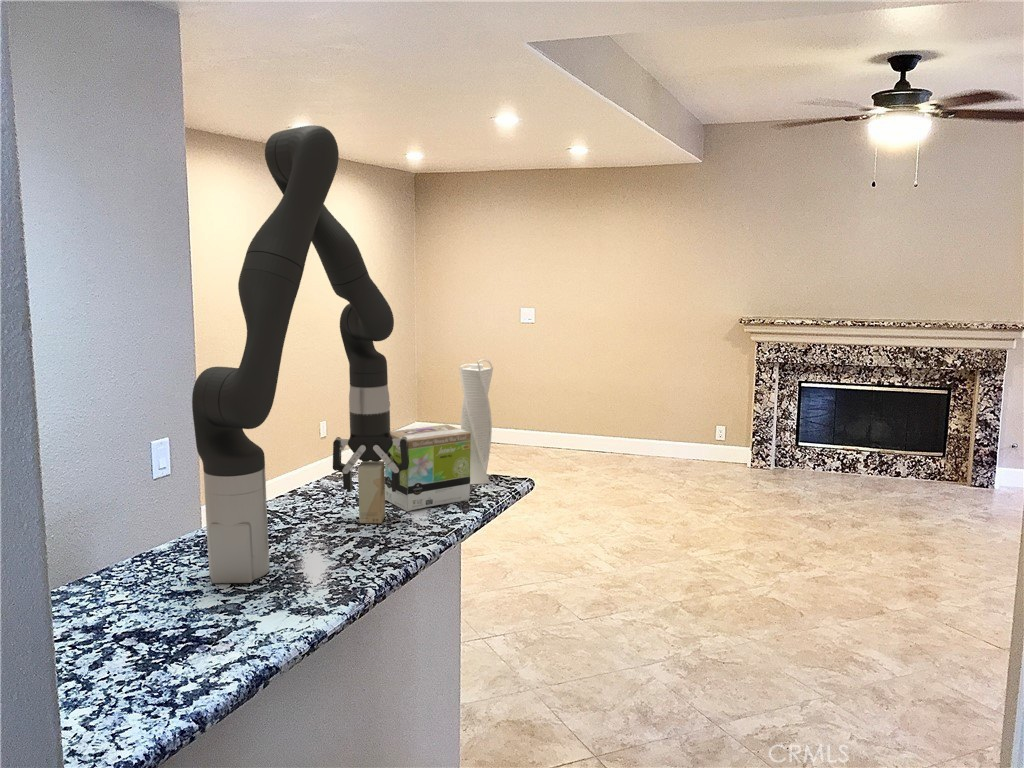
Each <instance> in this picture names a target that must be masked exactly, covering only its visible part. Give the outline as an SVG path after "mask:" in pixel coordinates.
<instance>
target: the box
mask: <svg viewBox="0 0 1024 768" xmlns="http://www.w3.org/2000/svg"><path fill="white" fill-rule="evenodd" d="M357 468H358V469H357V472H358V473H357V475H358V477H357V478H358V479H357V481H358V483H357V484H358V485H357V486H358V512H359V513H358V516H359V518H358V519H359V524H382V523H383V521H384V519H385V517H386V500H385V462H384V461H383V460H379V461H367V462H361V463H360V464H359V466H358V467H357Z"/></svg>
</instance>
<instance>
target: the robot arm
mask: <svg viewBox="0 0 1024 768" xmlns="http://www.w3.org/2000/svg"><path fill="white" fill-rule="evenodd" d="M339 154H340V153H339V146H338V143H337V140H336V137H335V136H334V135H333V133H332V131H330V130H329V129H328V128H327V127H325V126H322V125H315V124H314V125H312V124H311V125H305V126H304V125H303V126H299V127H294V128H289V129H283V130H280V131H277V132H275V133H273V134H271V135H270V136H269V138H268V139H267V141H266V143H265V146H264V159H265V162H266V167H267V168H268V171H269V173H270V175H271V177H272V178H273V181H274V183H276V185H277V187H278V188H279V190H280V192H281V193H282V195H283V196H282V198H281V199H280V201H279V202H278V204H277V206H276V207H275V209H274V210H273V212H272V213H270V215H269V216H268V218H267V219H266V220H265V221H264V222H263V223H262V225H261V226H260V228H259V229H258V231H256V233H255V235H254V236H253V238H252V239H251V241H250V243H249V245H248V247H247V249H246V253H245V257H244V260H243V263H242V268H241V270H240V274H239V278H238V281H237V283H238V284H237V289H238V296H239V297H238V298H239V301H240V305H241V308H242V312H243V316H244V320H245V325H246V339H245V345H244V350H243V353H242V358H241V360H240V363H239V366H238V367H228V366H212V367H209V368H206V369H205V370H203V371H202V372H201V373H200V374H199V375H198V376H197V378H196V380H195V381H194V382H195V383H194V385H193V389H192V394H191V395H192V396H191V398H192V399H191V408H192V419H193V427H194V437H195V445H196V450H197V454H198V456H199V458H200V460H201V461H202V469H203V483H204V484H203V485H204V501H205V502H204V503H205V504H204V505H205V520H206V521H205V525H206V538H207V539H206V543H207V555H208V560H207V561H208V576H209V578H210V580H211V583H212V584H249V583H253V581H254V580H257V579H259V578H262V577H264V576H265V575H266V574H268V573H269V572H270V549H269V548H270V547H269V529H268V526H269V525H268V508H267V507H268V504H267V485H266V482H267V480H266V459H265V452H264V450H263V449H262V447H260V446H259V445H258V444H256V443H255V442H254V441H252V440H251V439H250V438H249V437H248V436H247V435H246V433H245V431H244V430H253V429H257V428H258V427H260V426H261V425H262V424H264V423H265V421H266V420H267V419H268V417H269V414H270V413H271V410H272V407H273V404H274V402H275V396H276V393H277V392H276V391H277V386H278V380H279V375H280V374H279V373H280V369H281V368H280V367H281V362H282V356H283V350H284V346H285V341H286V336H287V332H288V328H289V324H290V320H291V315H292V312H293V309H294V305H295V301H296V299H297V295H298V292H299V289H300V285H301V281H302V278H303V275H304V270H305V266H306V262H307V257H308V254H309V251H310V250H309V249H310V246H311V244H312V245H313V247H314V249H315V251H316V253H317V255H318V258H319V260H320V262H321V264H322V266H323V270H324V271H325V273H326V277H327V279H328V282H329V283H330V286H331V288H332V290H333V292H334V293H335V295H337V296H338V297H339V298H341V299H344V300H346V301H347V302H349V303H348V304H346V305H345V306H344V308H343V309H342V311H341V314H340V318H339V330H340V331H339V332H340V335H341V340H342V344H343V347H344V351H345V354H346V357H347V361H348V367H349V368H348V369H349V370H348V371H349V374H348V375H349V393H348V407H349V408H348V410H349V435H350V436H349V437H348V438H349V439H347V438H341V437H340V436H337V437H336V438H335V439H334V440H333V442H332V443H333V444H332V470H333V471H338V472H340V473H342V487H343V489H344V490H346V493H351V492H352V490H353V476H352V474H353V473H352V470H351V469H352V468H353V467H354V466H355V465H356V463H357V462H358V460H359V461H362V462H367V461H384V465H385V464H386V465H388V466H389V467H390V469H391V470H392V492H396V489H398V488H399V486H400V471H402V470H407V469H408V467H409V454H408V442H407V438H406V437H402V438H397V439H393V438H392V437H391V434H390V431H391V412H390V411H391V409H390V408H391V401H390V391H389V386H388V379H389V378H388V361H387V358H386V356H385V355H384V354H383V353H381V352H379V351H378V350H377V349H376V347H375V345H374V344H375V343H374V342H382V341H385V340H387V339H388V338H389V337H390V336H391V335H392V333H393V331H394V326H395V319H394V313H393V311H392V308H391V306H390V304H389V302H388V301H387V299H386V298H385V297H384V295H383V293H382V292H381V290H380V289H379V287H378V286H377V285H376V283H375V282H374V281H373V279H372V278H371V277H370V274H369V271H368V269H367V266H366V264H365V261H364V258H363V256H362V253H361V251H360V248H359V247H358V244H357V242H356V241H355V239H354V238H353V237H352V235H351V234H350V233H349V232H348V230H347V229H346V228H345V227H344V226H343V225H342V223H340V222H339V220H338V219H337V218H336V217H335V216H334V215H333V214H332V213H331V212H330V211H329V209H328V207H327V206H326V205H325V201H326V199H327V197H328V194H329V191H330V190H331V186H332V183H333V181H334V180H335V179H334V178H335V176H336V173H337V169H338V166H339V165H338V164H339V158H340V157H339ZM392 445H396V447H397V449H398V450H401V461H402V462H401V463H399V464H398V463H397V461H396V460H395V459H394V457H393V456H392V454H391V453H390V452H389V449H390V448H391V447H392ZM346 446H347V447H349V449H350V450H351V451H352V453H353V454H352V455H351V457H350V458H349V459H348V460H347V462H346V464H345V463H343V462H342V452H343V451H344V450H345V448H346ZM387 454H388V455H387ZM385 458H386V459H385ZM362 462H361V463H362Z"/></svg>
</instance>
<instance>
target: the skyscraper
mask: <svg viewBox="0 0 1024 768" xmlns="http://www.w3.org/2000/svg"><path fill="white" fill-rule="evenodd" d="M480 362H487V363H488V364H489V366H490V367H484V364H483V363H480ZM458 369H459V375H460V382H461V386H462V393H463V399H462V405H461V406H462V407H461V412H460V413H461V414H460V416H461V417H460V429H461V430H464V431H467V432H469V433H471V452H470V485H484V484H488V485H489V484H491V482H490V479H489V476H488V474H487V471H488V467H489V460H490V454H491V453H490V451H491V444H492V425H493V424H492V423H493V422H492V412H491V404H490V401H489V391H490V387H491V381H492V376H493V370H494V367H493V365H492V363H491V361H490V360H489V359H487V358H481V359H479V360H478V361H477V363H465V364H464V363H463V364H461V365H460V366H459V367H458Z"/></svg>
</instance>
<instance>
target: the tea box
mask: <svg viewBox="0 0 1024 768" xmlns="http://www.w3.org/2000/svg"><path fill="white" fill-rule="evenodd" d="M390 434H391V437H392V438H393V439H397V438H402V437H406V438H407V442H408V454H409V467H408V469H407V470H402V471H400V486H399V488H398V489H396V492H392V470H391V469H390V467H389V466H388V465H386V464H385V463H384V471H385V501H387V502H389V503H390V504H393V505H394V506H396V507H398V508H399V509H401V510H403V511H406V512H411V511H415V510H420V509H424V508H429V507H436V506H439V505H440V506H441V505H447V504H453V503H458V502H465V501H466V502H467V501H469V500H470V499H471V498H470V497H471V496H470V494H471V493H470V492H471V484H470V452H471V433H469V432H467V431H464V430H461V428H458V427H455V426H451V425H449V424H441V425H440V424H439V425H431V426H425V427H424V426H423V427H416V428H415V427H414V428H408V429H399V430H390ZM389 452H390V453H391V454H392V456H393V457H394V459H395V460H396V461H397V463H398V464H399V463H401V462H402V461H401V450H398V449H397V447H396V445H392V447H391V448H390V449H389ZM387 455H388V454H387ZM385 459H386V458H385Z"/></svg>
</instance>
